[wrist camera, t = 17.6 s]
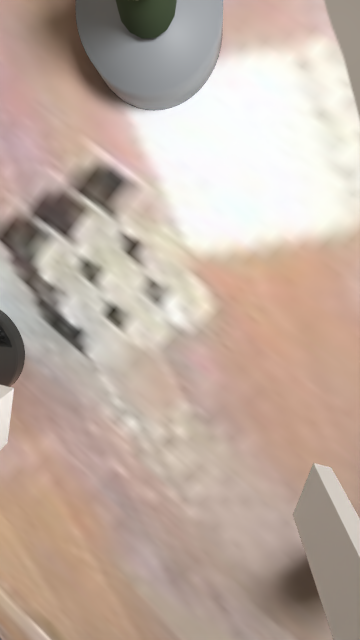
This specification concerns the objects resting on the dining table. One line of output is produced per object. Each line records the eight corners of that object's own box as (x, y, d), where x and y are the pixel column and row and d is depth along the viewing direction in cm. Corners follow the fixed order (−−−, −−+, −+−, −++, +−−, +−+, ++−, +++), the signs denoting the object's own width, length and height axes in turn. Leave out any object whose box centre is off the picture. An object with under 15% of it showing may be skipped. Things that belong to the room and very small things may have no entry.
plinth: (79, 89, 43) (61, 68, 38) (110, -60, 39) (95, -104, 34) (198, 126, 42) (195, 110, 37) (241, -22, 38) (245, -61, 34)
